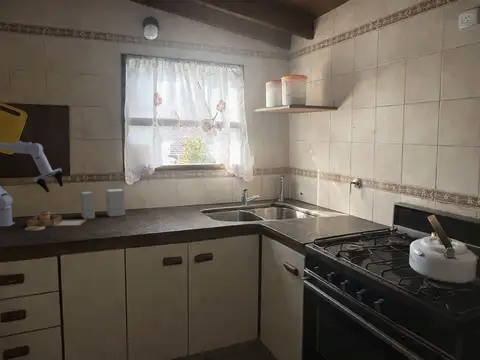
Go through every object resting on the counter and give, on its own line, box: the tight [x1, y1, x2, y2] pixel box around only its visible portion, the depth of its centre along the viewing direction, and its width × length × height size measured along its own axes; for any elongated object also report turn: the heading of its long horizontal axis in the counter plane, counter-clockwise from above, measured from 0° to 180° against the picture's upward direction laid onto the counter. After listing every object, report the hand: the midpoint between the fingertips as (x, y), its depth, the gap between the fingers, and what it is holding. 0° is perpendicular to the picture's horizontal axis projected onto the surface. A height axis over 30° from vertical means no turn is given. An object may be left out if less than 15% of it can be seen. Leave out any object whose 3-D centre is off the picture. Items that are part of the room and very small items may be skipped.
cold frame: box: [26, 214, 63, 228], centre depth 205 cm, size 13×13×4 cm
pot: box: [38, 210, 51, 220], centre depth 205 cm, size 6×6×6 cm
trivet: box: [24, 226, 46, 232], centre depth 195 cm, size 9×9×1 cm
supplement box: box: [105, 188, 126, 217], centre depth 232 cm, size 9×9×15 cm
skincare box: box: [79, 191, 96, 220], centre depth 222 cm, size 8×6×15 cm
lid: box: [54, 219, 87, 227], centre depth 207 cm, size 12×13×1 cm
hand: (55, 189), depth 204 cm, fingers open, 7 cm apart
